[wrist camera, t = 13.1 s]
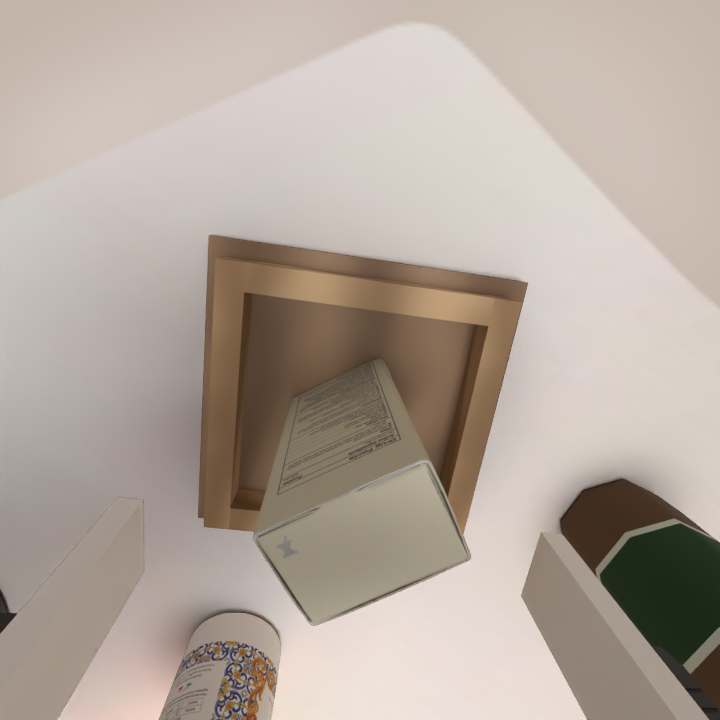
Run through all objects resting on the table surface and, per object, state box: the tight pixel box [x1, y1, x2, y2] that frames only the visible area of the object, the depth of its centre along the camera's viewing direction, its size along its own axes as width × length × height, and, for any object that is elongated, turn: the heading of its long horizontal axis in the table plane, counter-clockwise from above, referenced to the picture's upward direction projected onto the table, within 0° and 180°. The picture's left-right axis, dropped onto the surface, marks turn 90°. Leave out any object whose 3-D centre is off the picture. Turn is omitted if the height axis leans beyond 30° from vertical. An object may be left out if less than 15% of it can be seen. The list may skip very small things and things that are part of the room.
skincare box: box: [253, 358, 471, 626], centre depth 18 cm, size 6×4×12 cm
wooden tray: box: [198, 235, 528, 533], centre depth 24 cm, size 18×18×3 cm
